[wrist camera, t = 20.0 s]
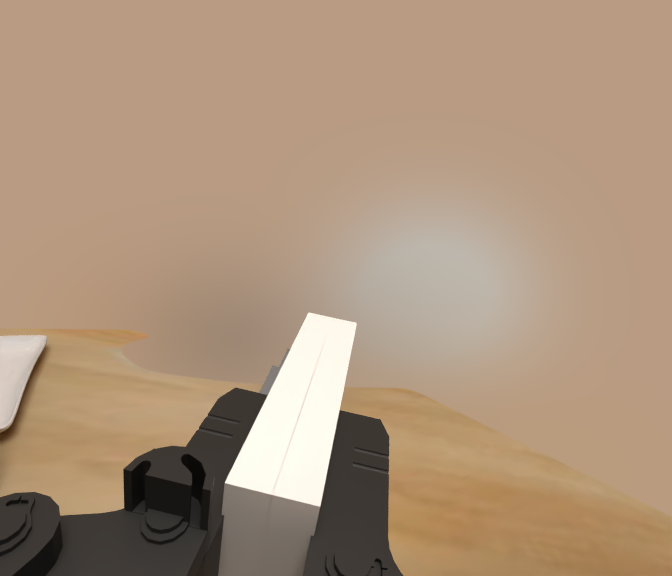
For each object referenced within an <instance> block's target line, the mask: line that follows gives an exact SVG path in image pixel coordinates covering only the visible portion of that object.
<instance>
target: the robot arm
mask: <svg viewBox="0 0 672 576" xmlns="http://www.w3.org/2000/svg"><path fill="white" fill-rule="evenodd" d="M356 324H357V323H354V322H350V321H345V320H341V319H336V318H331V317H327V316H322V315H317V314H313V313H308V315H307V317H306V319H305V321H304V323H303V325H302V327H301V329H300V331H299V333H298V335H297V337H296V339H295V341H294V343H293V345H292V348H291V349H290V351H289V353H288V355H287V358H286V360H285V362H284V364H283V366H282V368H281V370H280V372H279V374H278V376H277V378H276V380H275V382H274V384H273V386H272V388H271V390H270V392H269V394H268V395H265V394H261V393H257V392H252V391H248V390H244V389H239V388H234V389H233V390H231V391H230V392H228V393H226V394H225V395H223V396H222V397H220V398H219V399H218V400H217V402H216V403H215V405H214V406H213V407H212V409H211V410H210V412H209V413H208V416H207V417H206V418H205V419H204V421H203V422H202V424H201V425H200V427H199V430H197V431H196V433H195V434H194V435H193V437H192V438H191V440H190V441H189V443H188V444H187V446H186V447H179V446H168V447H163V448H158V449H153V450H151V451H149V452H147V453H145V454H143V455H141V456H139V457H137V458H136V459H134V460H133V461H132V462H131V463H130V464H129V465H128V466H127V467H125V468H124V509H121V510H118V511H113V512H107V513H98V514H81V515H65V516H60V512H59V506H58V505H57V504H56V503H55V502H54V501H53V499H52V498H51V497H49V496H46V495H43V494H39V493H36V492H28V493H14V494H11V495H7V496H4V497H0V576H403V575H402V574H401V572H400V570H399V569H398V567H397V565H396V564H395V562H394V560H393V557H392V554H391V552H390V549H389V541H388V489H389V474H388V471H389V459H388V457H389V436H388V434H387V432H386V430H385V428H384V426H383V424H382V422H381V420H380V419H375V418H371V417H367V416H362V415H358V414H354V413H350V412H345V411H341V410H340V405H341V400H342V395H343V390H344V385H345V380H346V374H347V369H348V365H349V359H350V354H351V349H352V344H353V339H354V334H355V329H356Z"/></svg>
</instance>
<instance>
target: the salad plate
mask: <svg viewBox="0 0 672 576" xmlns="http://www.w3.org/2000/svg"><path fill="white" fill-rule="evenodd" d="M46 342H47V337H46V336H44V335H22V336H0V433H1V432H3V431H5V430H6V429H8V428H9V427H10V426H11V424H12V423H13V421H14V418H15V416H16V413H17V410H18V407H19V404H20V401H21V398H22V395H23V392H24V389H25V386H26V384H27V381H28V379H29V377H30V374H31V372H32V370H33V367H34V365H35V363H36V361H37V359H38V358H39V356H40V354H41V353H42V351H43V349H44V347H45V345H46Z"/></svg>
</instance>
